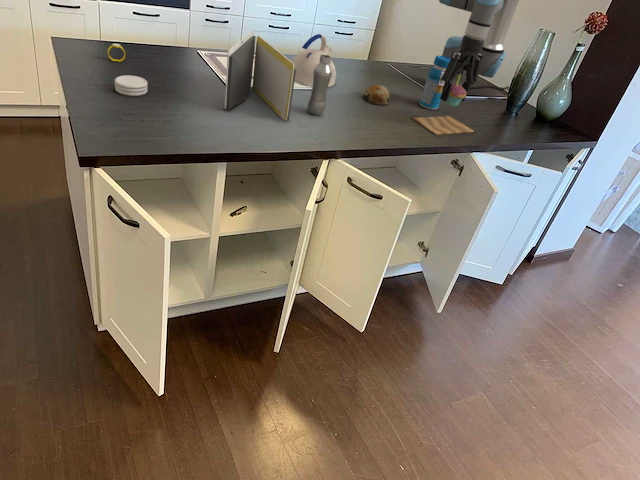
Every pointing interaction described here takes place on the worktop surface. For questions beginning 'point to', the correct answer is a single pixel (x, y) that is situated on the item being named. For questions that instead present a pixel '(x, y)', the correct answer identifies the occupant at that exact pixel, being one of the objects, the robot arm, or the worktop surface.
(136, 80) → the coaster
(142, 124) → the worktop surface
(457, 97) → the cupcake
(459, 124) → the light brown flat board
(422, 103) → the beverage bottle
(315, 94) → the plastic bottle
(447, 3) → the robot arm
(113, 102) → the worktop surface
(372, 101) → the bread roll
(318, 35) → the kettle
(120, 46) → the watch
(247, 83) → the grey folded panel
